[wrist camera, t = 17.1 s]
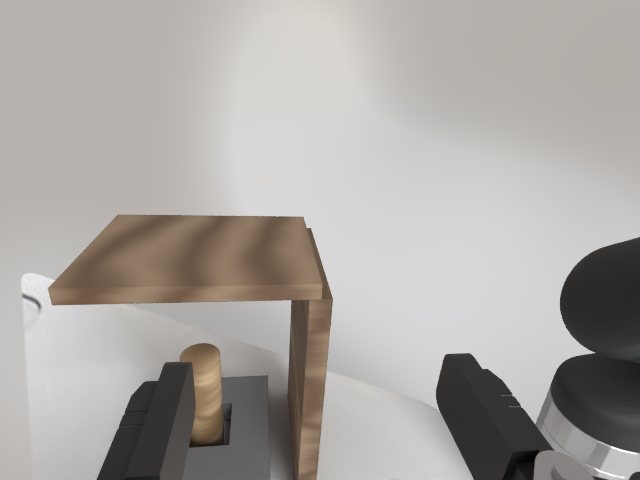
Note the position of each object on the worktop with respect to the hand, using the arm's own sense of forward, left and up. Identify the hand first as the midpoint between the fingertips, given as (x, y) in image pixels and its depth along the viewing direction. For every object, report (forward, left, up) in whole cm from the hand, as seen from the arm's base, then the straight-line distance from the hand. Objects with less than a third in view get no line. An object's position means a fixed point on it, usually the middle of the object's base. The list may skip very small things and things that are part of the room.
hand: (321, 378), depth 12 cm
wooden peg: (+9, -28, -36) cm, 46 cm away
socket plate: (+9, -28, -36) cm, 46 cm away
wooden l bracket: (+7, -27, -36) cm, 45 cm away
